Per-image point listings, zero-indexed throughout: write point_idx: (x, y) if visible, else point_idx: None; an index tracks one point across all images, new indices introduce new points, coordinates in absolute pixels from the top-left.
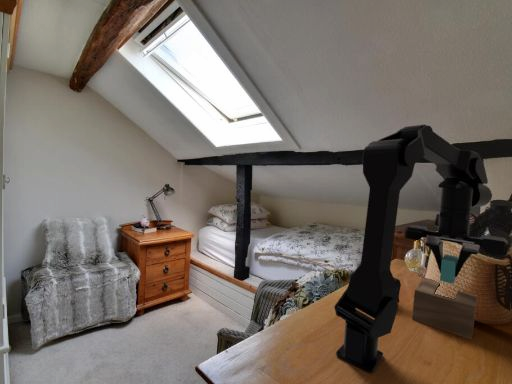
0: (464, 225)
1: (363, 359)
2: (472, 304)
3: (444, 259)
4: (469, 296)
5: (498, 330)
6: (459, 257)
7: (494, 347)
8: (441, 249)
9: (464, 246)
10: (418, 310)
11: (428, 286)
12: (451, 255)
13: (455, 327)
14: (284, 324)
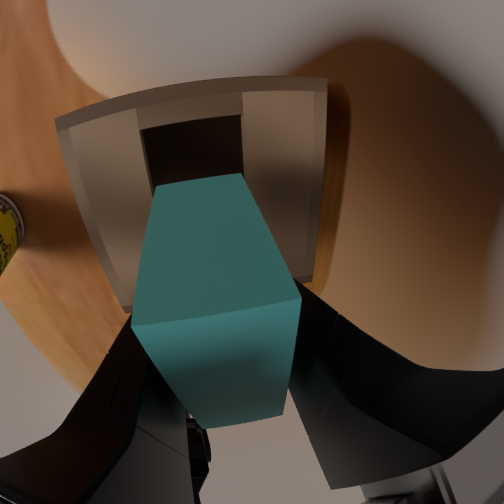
0: None
1: None
2: (305, 264)
3: (216, 425)
4: (296, 192)
5: (334, 102)
6: (313, 436)
7: (320, 212)
8: (166, 469)
9: (368, 496)
10: None
11: (126, 233)
12: (215, 324)
13: None
14: (76, 388)
